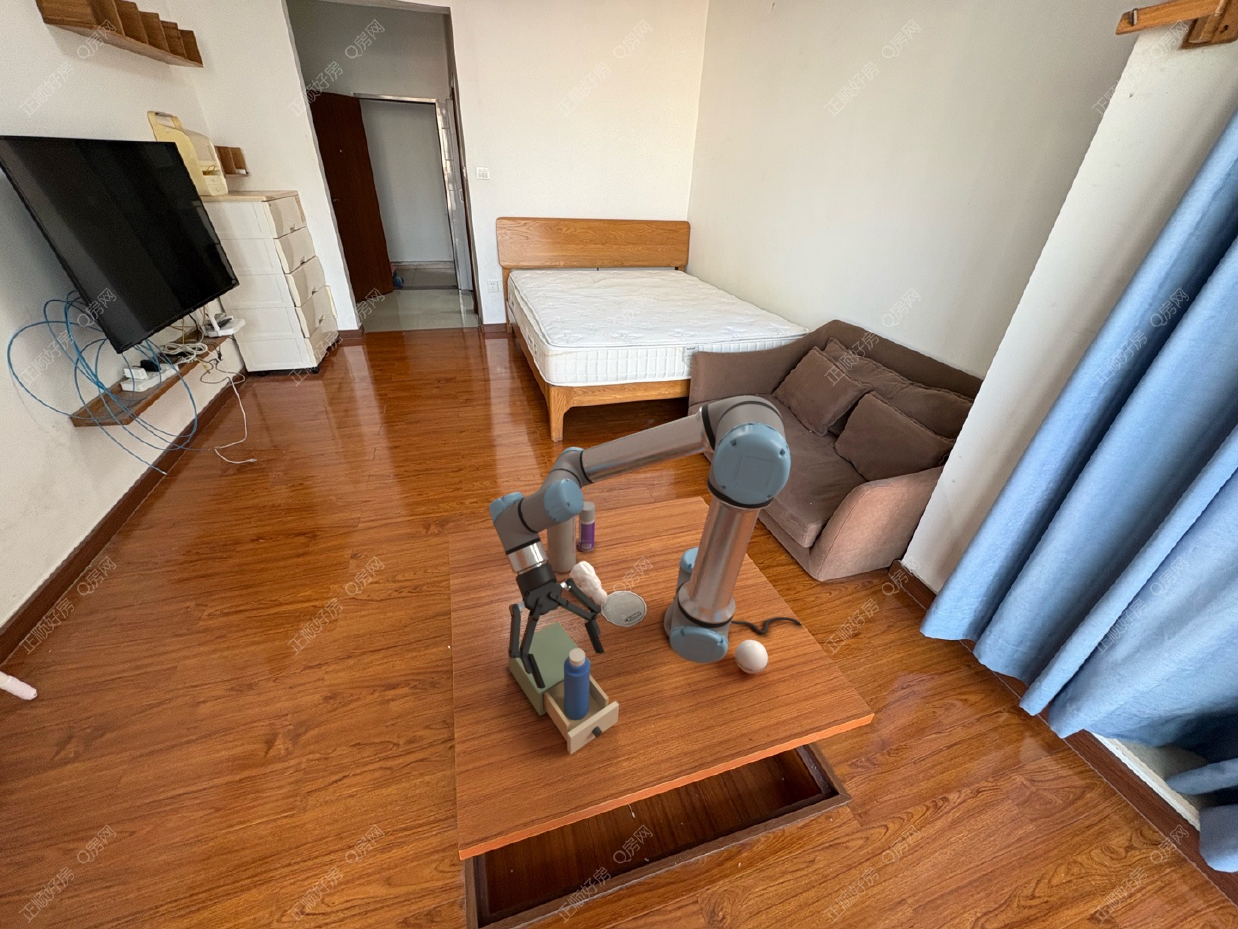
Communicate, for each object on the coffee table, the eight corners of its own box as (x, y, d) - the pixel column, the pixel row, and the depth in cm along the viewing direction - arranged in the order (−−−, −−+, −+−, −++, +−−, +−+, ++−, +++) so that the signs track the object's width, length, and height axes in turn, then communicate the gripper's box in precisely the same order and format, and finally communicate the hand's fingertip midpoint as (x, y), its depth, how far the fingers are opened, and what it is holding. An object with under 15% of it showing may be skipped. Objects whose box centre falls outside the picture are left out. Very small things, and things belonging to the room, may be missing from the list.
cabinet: (590, 685, 111) (591, 662, 107) (540, 716, 104) (538, 693, 100) (557, 643, 120) (557, 621, 116) (509, 669, 113) (507, 647, 109)
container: (597, 545, 150) (598, 504, 143) (588, 554, 147) (589, 512, 139) (584, 539, 152) (585, 499, 145) (575, 547, 149) (575, 506, 141)
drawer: (621, 726, 102) (622, 709, 99) (574, 760, 96) (574, 743, 93) (583, 677, 111) (583, 660, 108) (538, 705, 105) (537, 688, 102)
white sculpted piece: (586, 554, 134) (616, 582, 127) (584, 576, 139) (613, 604, 132) (567, 564, 130) (597, 594, 123) (566, 586, 135) (594, 616, 128)
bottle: (591, 702, 105) (594, 648, 96) (583, 723, 101) (584, 669, 92) (569, 694, 106) (569, 640, 97) (560, 716, 102) (559, 661, 93)
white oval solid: (725, 661, 118) (730, 640, 114) (749, 649, 121) (755, 628, 117) (754, 695, 110) (761, 674, 107) (779, 682, 114) (786, 661, 110)
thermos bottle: (579, 556, 146) (580, 474, 131) (571, 574, 139) (571, 491, 125) (552, 551, 147) (550, 470, 133) (543, 569, 140) (540, 486, 126)
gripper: (576, 548, 111) (614, 640, 109) (468, 595, 97) (508, 701, 95) (590, 542, 105) (630, 640, 102) (477, 592, 91) (520, 705, 89)
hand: (572, 669), depth 99 cm, fingers open, 13 cm apart
